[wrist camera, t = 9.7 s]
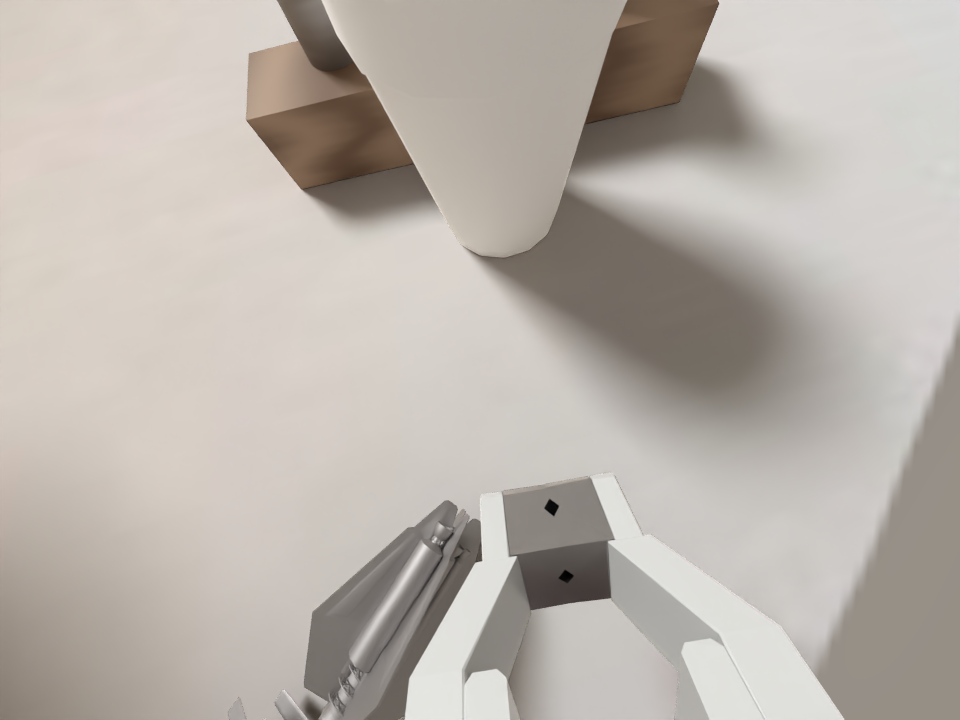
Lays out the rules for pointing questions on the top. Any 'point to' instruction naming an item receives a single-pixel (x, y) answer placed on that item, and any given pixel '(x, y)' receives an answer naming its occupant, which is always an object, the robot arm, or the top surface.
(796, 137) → the top surface
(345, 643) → the spaceship
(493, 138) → the foam cup
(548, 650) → the top surface
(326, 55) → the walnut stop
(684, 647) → the robot arm
